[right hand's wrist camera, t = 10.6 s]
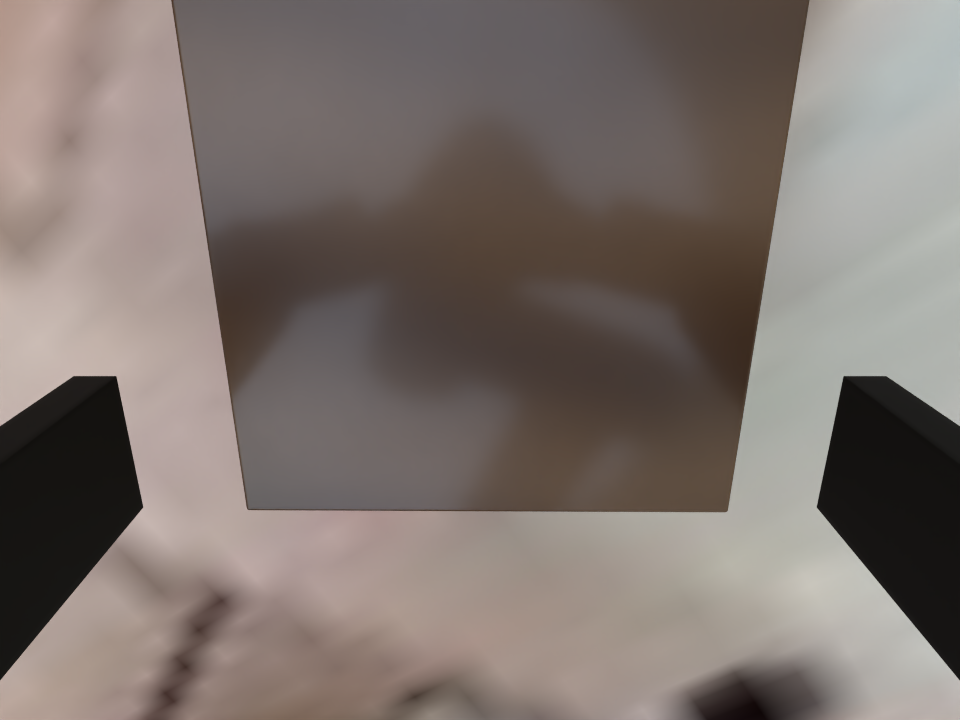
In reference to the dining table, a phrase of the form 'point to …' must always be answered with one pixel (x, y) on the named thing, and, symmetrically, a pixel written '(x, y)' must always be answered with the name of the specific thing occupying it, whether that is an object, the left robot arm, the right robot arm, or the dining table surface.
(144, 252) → the dining table surface
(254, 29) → the large taupe box
